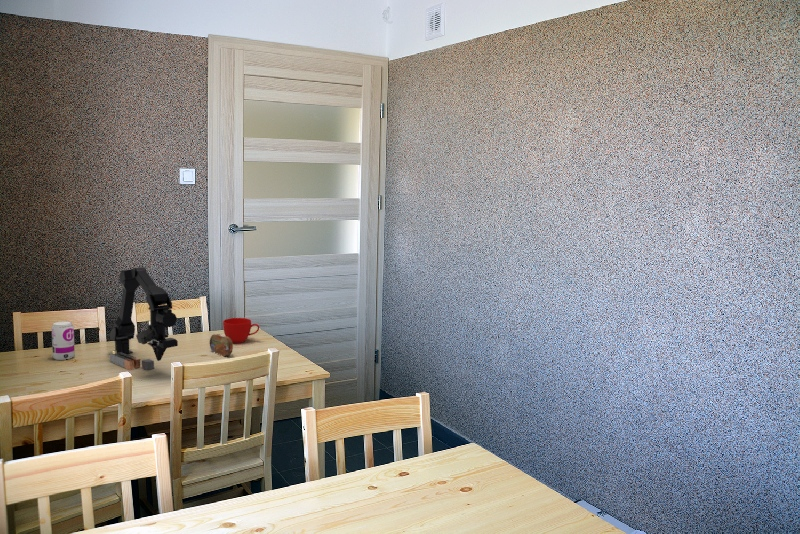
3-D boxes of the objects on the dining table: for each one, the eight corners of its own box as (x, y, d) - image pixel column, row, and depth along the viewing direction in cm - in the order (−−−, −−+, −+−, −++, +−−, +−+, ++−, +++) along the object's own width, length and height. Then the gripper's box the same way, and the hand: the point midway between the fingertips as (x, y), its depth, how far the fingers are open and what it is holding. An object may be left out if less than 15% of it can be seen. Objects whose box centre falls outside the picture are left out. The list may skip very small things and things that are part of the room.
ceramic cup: (256, 345, 313) (256, 324, 312) (219, 344, 313) (219, 323, 312) (262, 338, 326) (262, 318, 325) (227, 337, 326) (227, 317, 325)
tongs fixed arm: (107, 360, 282) (107, 351, 282) (115, 359, 285) (114, 349, 284) (129, 370, 271) (129, 360, 270) (137, 368, 273) (137, 358, 273)
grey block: (142, 367, 274) (141, 360, 273) (148, 366, 276) (148, 358, 276) (147, 370, 271) (147, 362, 271) (154, 368, 274) (153, 360, 273)
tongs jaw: (117, 360, 282) (117, 352, 281) (121, 359, 283) (121, 352, 283) (136, 368, 273) (136, 359, 273) (140, 367, 274) (140, 359, 274)
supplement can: (79, 357, 286) (77, 322, 284) (62, 361, 279) (60, 326, 277) (65, 354, 289) (64, 320, 287) (48, 358, 282) (47, 323, 280)
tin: (209, 351, 302) (209, 332, 301) (215, 349, 304) (215, 331, 303) (227, 358, 292) (227, 339, 291) (234, 357, 294) (234, 338, 293)
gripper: (126, 321, 266) (127, 359, 268) (151, 329, 254) (152, 369, 257) (152, 317, 275) (153, 354, 277) (178, 325, 263) (178, 363, 265)
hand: (158, 360), depth 269 cm, fingers closed
